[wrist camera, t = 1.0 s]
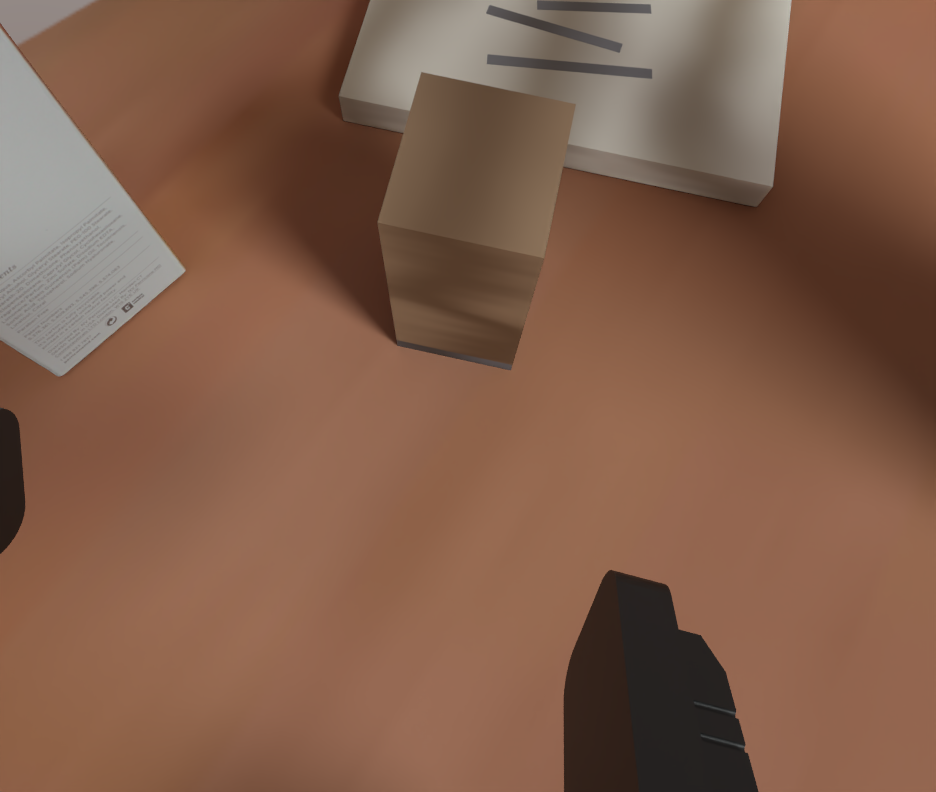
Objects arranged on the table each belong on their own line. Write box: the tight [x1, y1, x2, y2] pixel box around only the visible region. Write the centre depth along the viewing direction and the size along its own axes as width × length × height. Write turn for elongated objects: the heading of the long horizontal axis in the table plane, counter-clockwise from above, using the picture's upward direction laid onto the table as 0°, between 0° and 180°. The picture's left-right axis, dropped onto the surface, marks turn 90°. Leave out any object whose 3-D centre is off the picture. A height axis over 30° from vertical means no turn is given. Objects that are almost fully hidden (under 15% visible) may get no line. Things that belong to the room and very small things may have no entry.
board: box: [339, 0, 791, 207], centre depth 30 cm, size 18×10×2 cm, turn 78°
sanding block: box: [377, 72, 576, 370], centre depth 23 cm, size 4×5×9 cm
